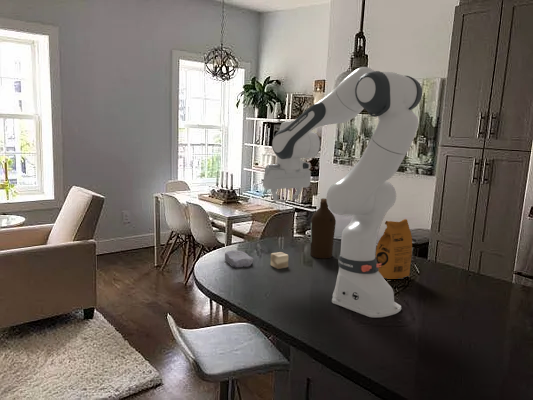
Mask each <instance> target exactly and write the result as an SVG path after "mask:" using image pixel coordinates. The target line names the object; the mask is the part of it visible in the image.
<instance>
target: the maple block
mask: <svg viewBox="0 0 533 400" xmlns="http://www.w3.org/2000/svg"><path fill="white" fill-rule="evenodd" d="M270 266H271V267H273V268H275V269H278V270H279V269H286V268H289V254H287V253H284V252H282V251H279V252H278V251H277V252H272V253H270Z"/></svg>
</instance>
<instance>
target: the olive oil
mask: <svg viewBox="0 0 533 400" xmlns="http://www.w3.org/2000/svg"><path fill="white" fill-rule="evenodd" d="M336 222H337V221H336V216H335V215H334V213H333V212H332V211H331V210H330V209H329V207H328V205H327V199H326V198H320V204H319V207H318V209H316V211H314V213H313V214H312V216H311V218H310V252H309V253H310V256H311V257H312V258H316V259H324V260H325V259H330V258H332V257H333V250H334V242H335V241H334V240H335V232H336Z"/></svg>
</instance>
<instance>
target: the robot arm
mask: <svg viewBox="0 0 533 400" xmlns="http://www.w3.org/2000/svg"><path fill="white" fill-rule="evenodd" d="M422 96H423V89H422V85H421V83H420V82H419V81H418V80H417V79H415V78H414V77H412V76H409V75H404V74H399V73H397V72H394V71H393V72H392V71H379V70H374V69H372V68H370V67H368V66H360V67H358V68H356V69H355V70H353V71H352V72H351V73H349V74H348V75H347V76H346V77H345V78H344V79H343V80H342V81H340V82H339V84H338V85H337V86H335V88H334V89H333V90H332V91H330V93H328V94H327V95H326V96H325V97H323V98H322V99H320V100H319V101H317V102H316V103H314V104H313V105H311V106H310V107H308V108H307V109H306V110H305V111H303V112H302V113H301V114H300V115H299V116H298V117H296V118H295V119H294V120H286V121H282V122H281V124H280V126H279V130H278V131H277V132H276V133H275V134H274V136H273V139H272V140H271V147H272V150H273V153H274V154H275V155H276V163H275V164H272V163H269V164H268V165H266V166H265V168H264V175H263V181H262V187H263V188H264V189H267V190H270V192H271V195H272V199H273V201H275V202H276V201H278V202H279V200H280V199H279V198H280V196H279V195H278V194H277V192H278V190H281V189H282V190H283V189H286V190H287V189H295V190H296V191H295V193H293V194H292V200H293V199H294V200H298V199H300V198H299V197H300V194H301V193H302V189H303V188H309V187H310V185H311V180H312V179H311V177H312V176H311V174H312V173H311V171H310V169H311V168H312V167H311V166H312V165H311V163H309V162H307V161H304V160H303V159H305V158H308V159H309V158H314V157H316V156H317V155H318V154H319V152H320V150H321V146H322V145H321V139H320V135H318V133H317V132H315V131H313V130H315V129H317V128H320V127H322V126H328V125H336V124H344V123H347V122H349V121H351V120H353V119H354V118H355V117H357V116H358V115H360V113H361V112H362V111H363V110H364V109H365V111H366V112H367V113H368V115H369V116H370V117H374V118H375V117H377V118H378V120H377V121H378V122H377V125H376V128H375V130H374V132H373V134H372V135H371V138H370V140H369V142H368V144H367V146H366V148H365V149H364V152H363V153H362V155H361V156H360V159H359V160H358V161H357V162H356V164H355V165H354V166H353V167H352V168H351V169H350V171H348V172H347V173H346V175H344V177H342V178H341V179H340V180H338V181H337V182H335V183H333V184H332V185H331V186H330V187H329V188H328V190H327V193H326V198H325V199H327V205H328V209H329V210H330V211H331V212H332V214H335V215H339V216H343V217H344V216H347V217H351V216H352V218H351V220H350V222H349V223H348V224H347V225H346V226H345V227H344V228H343V230H342V232H341V238H340V239H341V241H340V253H339V254H338V259H337V260H338V261H337V262H338V263H337V265H338V273H337V277H336V280H335V281H336V282H335V286H334V290H333V293H332V298H331V303H332V304H334V305H337V306H340V307H343V308H345V309H347V310H350V311H353V312H356V313H357V314H360V315H363V316H366V317H369V318H385V317H389V316H393V315H396V314H398V313H399V312H401V310H402V305H401V304H399V303H397V302H396V301H395V292H394V289H393V287H392V286H391V285H390V284H389V282H388V281H386V280H385V279H384V278H383V276H382V275H381V274H380V272H379V268H378V267H381V266H379V265H381V264H382V263H379V264H378V263H377V259H376V248H377V244H378V235H379V231H380V229H381V225H382V223H383V221H384V218H385V217H386V215H387V213H388V212H389V210H390V209H392V207H393V206H394V205H395V203H396V200H397V192H396V189H395V187H394V185H393V184H392V183H391V182H389V181H388V180H390V179H391V178H393V176H395V175H396V173H397V172H398V169H400V166H401V164H402V162H403V160H404V159H405V157H406V155H407V153H408V151H409V150H410V148H411V145H412V143H413V141H414V138H415V136H416V133H417V129H418V126H419V119H418V116H417V115H416V113H414V112H413V111H412V110H413V109H415V108H416V107H418V106H419V104H420V102H421V100H422Z"/></svg>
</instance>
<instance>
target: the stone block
mask: <svg viewBox="0 0 533 400" xmlns="http://www.w3.org/2000/svg"><path fill="white" fill-rule="evenodd" d="M224 260H226V261H225V262H226V263H228V264H229V265H230V266H231V267H233V268H236V267H237V268H243V266H244V267H250V266H252V264H253V262H254V257H252V256H250V255H248V253H246V252H245V251H242V250H233V249H231V250H228V251H226V252H225V253H224Z"/></svg>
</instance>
